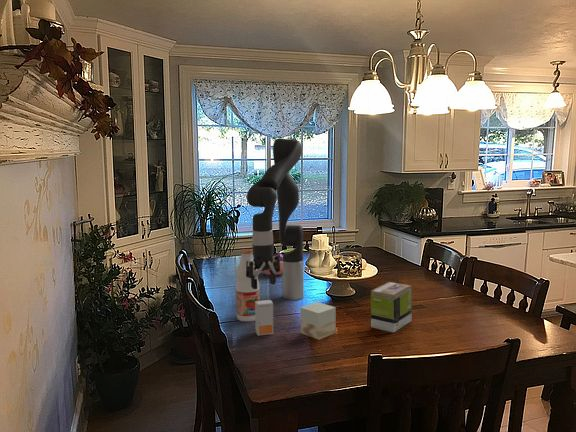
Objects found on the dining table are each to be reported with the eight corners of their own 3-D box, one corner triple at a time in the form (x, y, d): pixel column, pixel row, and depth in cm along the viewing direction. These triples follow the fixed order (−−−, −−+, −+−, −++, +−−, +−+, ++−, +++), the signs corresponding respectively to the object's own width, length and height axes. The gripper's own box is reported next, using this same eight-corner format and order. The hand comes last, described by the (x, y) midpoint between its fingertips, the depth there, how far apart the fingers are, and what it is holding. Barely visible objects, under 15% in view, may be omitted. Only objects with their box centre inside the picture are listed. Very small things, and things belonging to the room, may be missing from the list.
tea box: (388, 316, 194) (389, 280, 192) (412, 321, 188) (412, 285, 186) (369, 327, 183) (370, 289, 181) (394, 333, 177) (394, 294, 175)
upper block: (300, 320, 178) (300, 307, 177) (317, 314, 184) (317, 302, 183) (318, 326, 171) (318, 313, 170) (335, 320, 177) (335, 307, 176)
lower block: (301, 333, 178) (300, 320, 178) (317, 327, 184) (317, 314, 184) (318, 340, 172) (318, 326, 171) (335, 333, 178) (335, 320, 177)
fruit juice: (245, 312, 201) (243, 246, 197) (264, 316, 197) (263, 248, 193) (232, 319, 193) (229, 251, 189) (251, 323, 189) (249, 253, 185)
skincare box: (257, 336, 176) (257, 304, 174) (255, 332, 180) (254, 301, 178) (274, 334, 177) (273, 302, 176) (271, 330, 181) (270, 299, 180)
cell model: (251, 273, 266) (250, 253, 265) (284, 268, 274) (283, 249, 273) (262, 280, 251) (262, 259, 249) (297, 275, 259) (297, 255, 258)
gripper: (270, 238, 181) (271, 280, 184) (240, 244, 172) (241, 288, 174) (284, 241, 176) (285, 284, 178) (254, 246, 166) (255, 292, 169)
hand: (263, 286), depth 176 cm, fingers open, 8 cm apart
